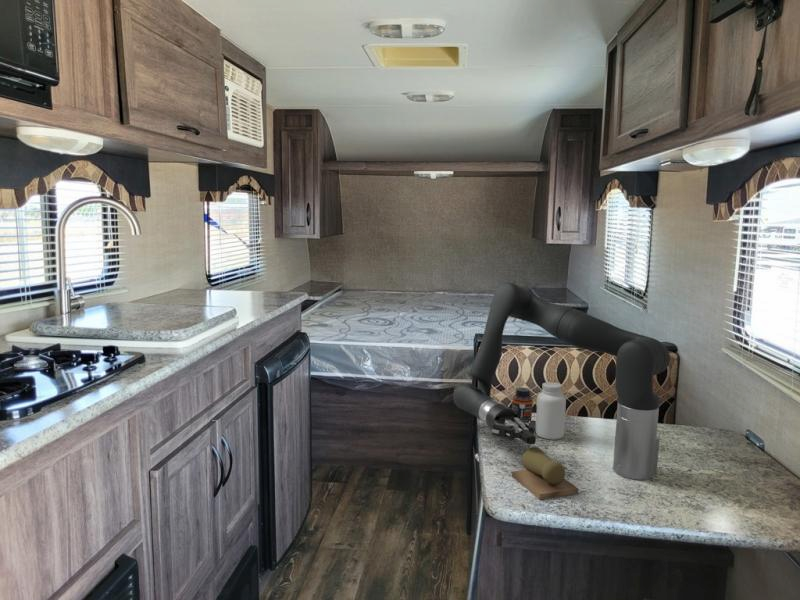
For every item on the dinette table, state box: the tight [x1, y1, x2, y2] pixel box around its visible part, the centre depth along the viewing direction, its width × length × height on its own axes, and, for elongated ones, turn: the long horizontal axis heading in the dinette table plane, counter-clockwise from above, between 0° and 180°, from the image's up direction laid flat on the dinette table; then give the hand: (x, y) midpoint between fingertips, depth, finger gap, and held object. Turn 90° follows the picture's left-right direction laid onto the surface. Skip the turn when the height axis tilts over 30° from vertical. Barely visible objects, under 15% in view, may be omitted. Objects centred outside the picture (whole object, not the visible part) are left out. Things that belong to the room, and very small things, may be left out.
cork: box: [521, 446, 566, 485], centre depth 134 cm, size 6×6×11 cm
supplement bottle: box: [511, 386, 534, 423], centre depth 170 cm, size 6×6×11 cm
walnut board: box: [511, 469, 579, 500], centre depth 133 cm, size 10×12×1 cm
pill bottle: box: [535, 381, 567, 440], centre depth 163 cm, size 8×8×15 cm
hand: (532, 440), depth 137 cm, fingers closed
